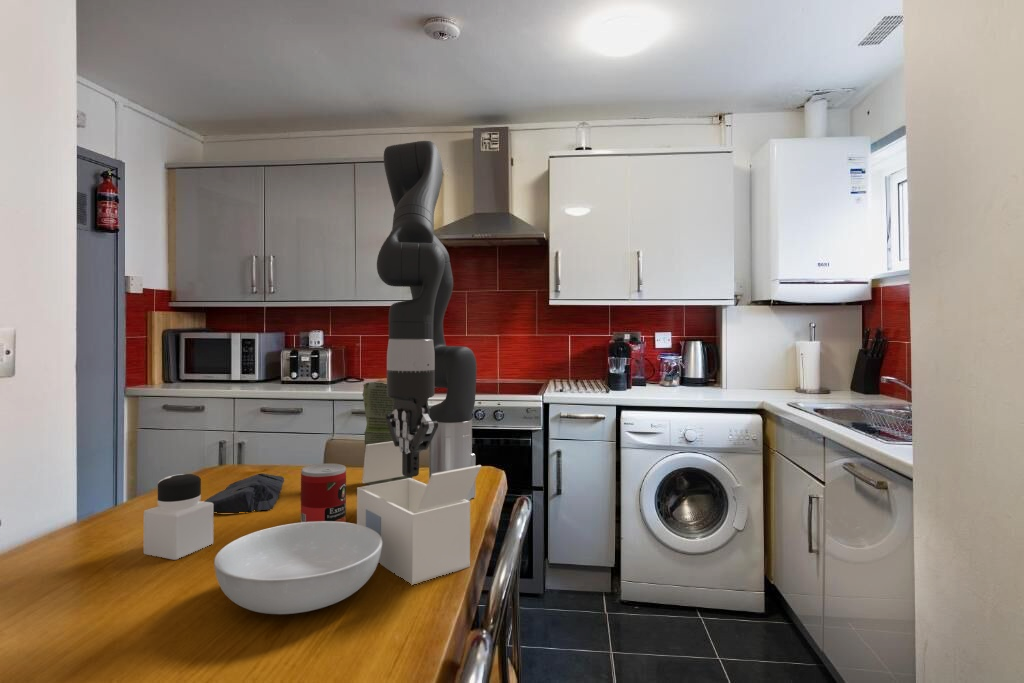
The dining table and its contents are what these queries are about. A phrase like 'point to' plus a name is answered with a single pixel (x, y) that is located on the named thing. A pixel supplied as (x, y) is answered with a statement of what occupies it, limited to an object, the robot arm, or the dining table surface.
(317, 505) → the canned food
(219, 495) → the dark slate chunk
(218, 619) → the dining table surface
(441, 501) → the near flap
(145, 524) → the medicine bottle
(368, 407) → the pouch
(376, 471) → the far flap
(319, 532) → the serving bowl
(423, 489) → the carton
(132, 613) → the dining table surface
